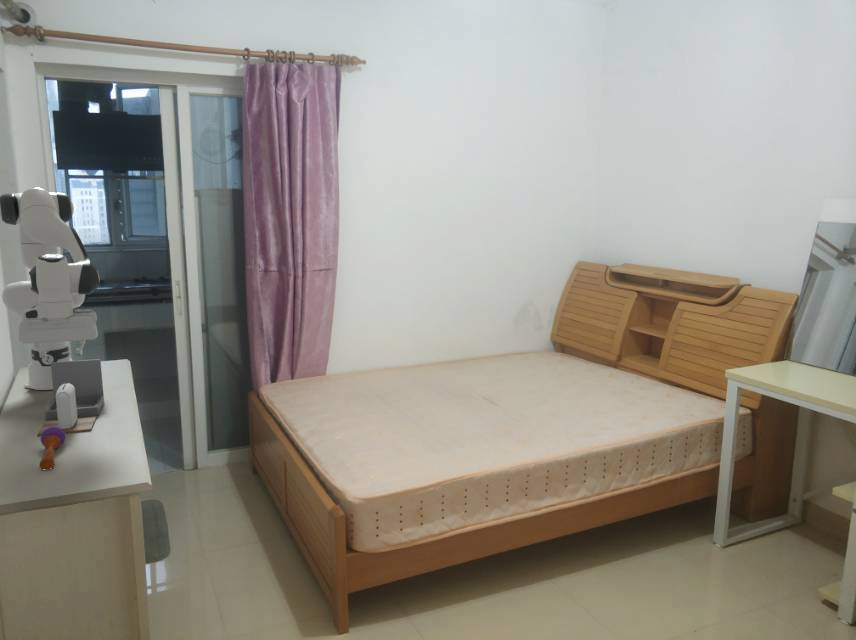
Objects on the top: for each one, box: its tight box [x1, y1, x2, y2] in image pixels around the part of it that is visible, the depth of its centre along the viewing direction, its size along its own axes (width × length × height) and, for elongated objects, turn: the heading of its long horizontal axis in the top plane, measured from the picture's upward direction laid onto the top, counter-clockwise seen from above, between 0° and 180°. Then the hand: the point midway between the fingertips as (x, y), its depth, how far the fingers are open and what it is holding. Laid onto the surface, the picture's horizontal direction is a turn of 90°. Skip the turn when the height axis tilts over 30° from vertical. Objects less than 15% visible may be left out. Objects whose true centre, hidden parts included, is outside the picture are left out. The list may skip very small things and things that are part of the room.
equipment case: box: [44, 358, 105, 421], centre depth 208 cm, size 15×15×15 cm
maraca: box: [39, 427, 67, 471], centre depth 173 cm, size 6×6×20 cm
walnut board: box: [36, 415, 98, 437], centre depth 195 cm, size 13×14×1 cm
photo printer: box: [56, 383, 78, 429], centre depth 194 cm, size 10×4×12 cm, turn 20°
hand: (61, 355), depth 191 cm, fingers open, 8 cm apart
